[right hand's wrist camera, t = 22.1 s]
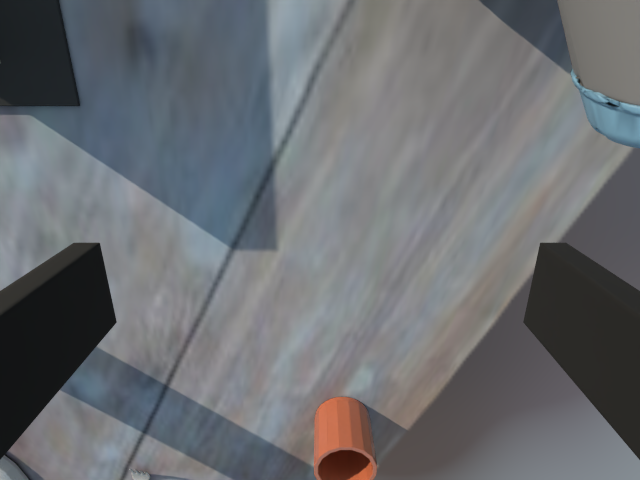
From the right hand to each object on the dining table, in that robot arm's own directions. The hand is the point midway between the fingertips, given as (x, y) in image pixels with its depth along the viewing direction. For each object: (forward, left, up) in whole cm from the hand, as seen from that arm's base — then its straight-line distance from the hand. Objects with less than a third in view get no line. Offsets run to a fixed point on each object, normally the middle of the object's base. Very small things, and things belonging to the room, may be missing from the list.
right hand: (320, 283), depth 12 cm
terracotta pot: (-3, +37, -32) cm, 49 cm away
